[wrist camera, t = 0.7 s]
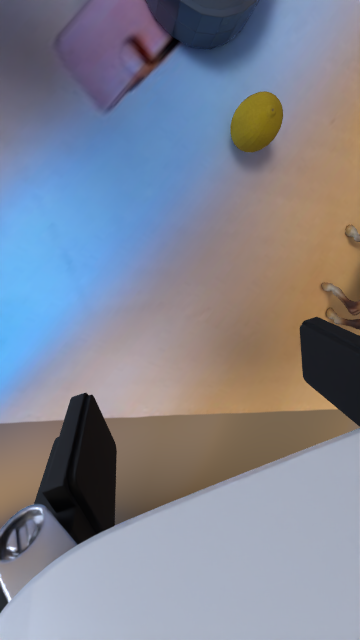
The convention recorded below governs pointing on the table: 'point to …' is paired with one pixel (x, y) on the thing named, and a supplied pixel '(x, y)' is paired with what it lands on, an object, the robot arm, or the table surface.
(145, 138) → the table surface
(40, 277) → the table surface
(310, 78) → the table surface
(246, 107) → the lemon
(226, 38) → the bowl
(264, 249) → the table surface
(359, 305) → the horse figurine
